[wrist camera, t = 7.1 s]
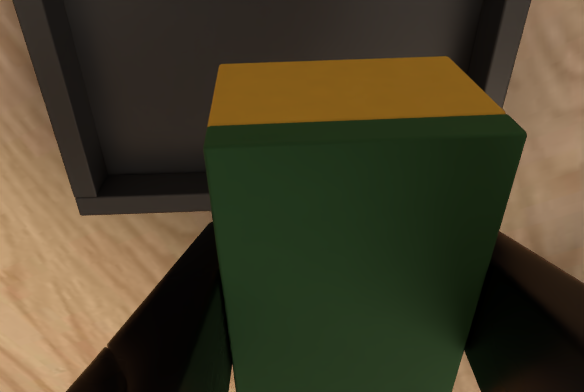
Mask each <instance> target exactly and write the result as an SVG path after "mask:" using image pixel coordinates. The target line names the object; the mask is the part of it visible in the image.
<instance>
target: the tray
mask: <svg viewBox="0 0 584 392" xmlns="http://www.w3.org/2000/svg"><path fill="white" fill-rule="evenodd" d="M13 3H14V7H15V10H16V13H17V16H18V19H19V23H20V26H21V29H22V32H23V35H24V38H25V42H26V45H27V48H28V51H29V54H30V58H31V61H32V64H33V67H34V70H35V73H36V77H37V80H38V83H39V86H40V89H41V93H42V96H43V99H44V102H45V105H46V108H47V112H48V115H49V118H50V121H51V124H52V128H53V131H54V134H55V137H56V140H57V143H58V147H59V150H60V153H61V156H62V159H63V163H64V166H65V169H66V172H67V175H68V179H69V182H70V185H71V188H72V191H73V194H74V197H75V200H76V203H77V206H78V209H79V212H80V215H82V216H84V215H112V214H139V213H167V212H195V211H211V204H210V196H209V189H208V182H207V174H206V167H205V159H204V152H203V146H204V141H205V135H206V130H207V126H208V121H209V115H210V110H211V105H212V100H213V95H214V89H215V84H216V79H217V74H218V69H219V65H221V64H237V63H266V62H295V61H323V60H352V59H381V58H410V57H438V56H447V57H449V58H450V59H451V60H452V61H453V62H454V63H455V64H456V65H457V66H458V67H459V68H460V69H461V70H462V71H463V72H464V73H465V74H467V75H468V76H469V77H470V78H471V79H472V80H473V81H474V82H475V83H476V84H477V85H478V86H479V87H480V88H481V89H482V90H483V91H484V92H485V93H486V94H487V95H488V96H489V97H490V98H491V99H492V100H493V101H494V102H495V103H496V104H497V105H498V106H499V107H501V108H503V104H504V100H505V96H506V93H507V89H508V85H509V82H510V78H511V74H512V70H513V67H514V63H515V59H516V55H517V52H518V48H519V44H520V40H521V37H522V33H523V29H524V25H525V22H526V18H527V14H528V10H529V7H530V3H531V0H13Z"/></svg>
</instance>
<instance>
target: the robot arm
mask: <svg viewBox="0 0 584 392" xmlns="http://www.w3.org/2000/svg"><path fill="white" fill-rule="evenodd" d="M107 347H108V348H107ZM107 347H105V348H103V350H102V351H101V352H100V353H99V354H98V356H97V357H96V358H95V359H94V360H93V361H92V363H91V364H90V365H89V366H88V367H87V368H86V369H85V371H84V372H83V373H82V374H81V375H80V376H79V377H78V378H77V380H76V381H75V382H74V383H73V384H72V385H71V386H70V387H69V389H68V390H67V391H66V392H228V391H229V384H230V376H231V369H232V358H231V350H230V343H229V336H228V328H227V321H226V314H225V306H224V299H223V292H222V284H221V277H220V270H219V262H218V255H217V248H216V240H215V233H214V226H213V222H211V223H209V224H208V225H207V226H206V228H205V229H204V230H203V231H202V232H201V234H200V235H199V236H198V237H197V238H196V239H195V241H194V242H193V243H192V244H191V245H190V247H189V248H188V249H187V250H186V251H185V253H184V254H183V255H182V256H181V257H180V258H179V260H178V261H177V262H176V263H175V264H174V266H173V267H172V268H171V269H170V270H169V272H168V273H167V274H166V275H165V276H164V277H163V279H162V280H161V281H160V282H159V283H158V285H157V286H156V287H155V288H154V289H153V291H152V292H151V293H150V294H149V295H148V296H147V298H146V299H145V300H144V301H143V302H142V304H141V305H140V306H139V307H138V308H137V310H136V311H135V312H134V313H133V314H132V315H131V317H130V318H129V319H128V320H127V321H126V323H125V324H124V325H123V326H122V327H121V328H120V330H119V331H118V332H117V333H116V334H115V336H114V337H113V338H112V339H111V340H110V342H109V343H108V344H107ZM464 351H465V353H466V356H467V358H468V361H469V363H470V366H471V368H472V370H473V373H474V375H475V378H476V380H477V383H478V385H479V388H480V390H481V392H584V283H582V282H581V281H579V280H578V279H576V278H574V277H573V276H571V275H569V274H568V273H566V272H565V271H563V270H561V269H560V268H558V267H556V266H555V265H553V264H552V263H550V262H548V261H547V260H545V259H543V258H542V257H540V256H539V255H537V254H535V253H534V252H532V251H531V250H529V249H527V248H526V247H524V246H522V245H521V244H519V243H518V242H516V241H514V240H513V239H511V238H509V237H508V236H506V235H505V234H503V233H501V232H500V231H499V233H498V236H497V239H496V243H495V246H494V250H493V253H492V256H491V260H490V263H489V267H488V270H487V273H486V277H485V280H484V284H483V287H482V290H481V294H480V297H479V301H478V304H477V307H476V311H475V314H474V318H473V321H472V324H471V328H470V331H469V335H468V338H467V342H466V345H465V348H464Z"/></svg>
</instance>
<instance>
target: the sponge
mask: <svg viewBox="0 0 584 392" xmlns="http://www.w3.org/2000/svg"><path fill="white" fill-rule="evenodd" d="M526 137H527V133H526V131H525V130H523V129H522V128H521V127H520V126H519V125H518V124H517V123H516V122H515V121H514V120H513V119H512V118H511V117H510V116H509V115H507V114H505V111H504V110H503V109H502V108H501V107H499V106H498V105H497V104H496V103H495V102H494V101H493V100H492V99H491V98H490V97H489V96H488V95H487V94H486V93H485V92H484V91H483V90H482V89H481V88H480V87H479V86H478V85H477V84H476V83H475V82H474V81H473V80H472V79H471V78H470V77H469V76H468V75H467V74H465V73H464V72H463V71H462V70H461V69H460V68H459V67H458V66H457V65H456V64H455V63H454V62H453V61H452V60H451V59H450V58H449V57H447V56H438V57H410V58H381V59H352V60H323V61H295V62H266V63H237V64H221V65H219V69H218V74H217V79H216V84H215V89H214V95H213V100H212V105H211V110H210V115H209V121H208V126H207V130H206V135H205V141H204V146H203V152H204V159H205V167H206V174H207V182H208V189H209V196H210V204H211V211H212V218H213V226H214V233H215V240H216V248H217V255H218V262H219V270H220V277H221V284H222V292H223V299H224V306H225V314H226V321H227V328H228V336H229V343H230V350H231V358H232V365H233V372H234V380H235V387H236V392H452V389H453V386H454V382H455V379H456V376H457V372H458V369H459V365H460V362H461V359H462V355H463V352H464V348H465V345H466V342H467V338H468V335H469V331H470V328H471V324H472V321H473V318H474V314H475V311H476V307H477V304H478V301H479V297H480V294H481V290H482V287H483V284H484V280H485V277H486V273H487V270H488V267H489V263H490V260H491V256H492V253H493V250H494V246H495V243H496V239H497V236H498V233H499V229H500V226H501V222H502V219H503V216H504V212H505V209H506V205H507V202H508V199H509V195H510V192H511V188H512V185H513V182H514V178H515V175H516V171H517V168H518V165H519V161H520V158H521V154H522V151H523V148H524V144H525V141H526Z"/></svg>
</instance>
